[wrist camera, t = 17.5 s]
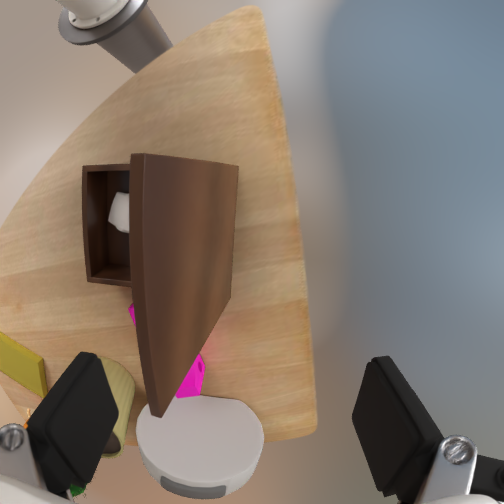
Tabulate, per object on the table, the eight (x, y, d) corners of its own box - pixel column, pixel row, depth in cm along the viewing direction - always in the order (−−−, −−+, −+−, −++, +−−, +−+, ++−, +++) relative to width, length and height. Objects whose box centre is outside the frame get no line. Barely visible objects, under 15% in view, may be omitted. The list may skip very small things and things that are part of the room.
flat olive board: (42, 357, 47) (-23, 314, 44) (37, 363, 45) (-28, 318, 42) (47, 393, 50) (-16, 351, 47) (44, 398, 48) (-20, 355, 45)
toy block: (138, 297, 43) (120, 318, 36) (173, 288, 43) (160, 309, 35) (172, 372, 46) (162, 400, 39) (205, 366, 46) (199, 395, 39)
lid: (150, 415, 16) (161, 419, 16) (130, 153, 12) (145, 153, 12) (224, 296, 35) (230, 297, 35) (231, 165, 31) (238, 166, 31)
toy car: (121, 186, 38) (111, 188, 34) (196, 217, 39) (191, 222, 36) (110, 222, 39) (100, 226, 36) (182, 253, 40) (177, 260, 37)
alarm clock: (151, 409, 50) (127, 488, 31) (149, 385, 47) (119, 470, 29) (256, 424, 51) (259, 508, 32) (262, 402, 49) (267, 493, 30)
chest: (107, 266, 42) (87, 282, 35) (105, 165, 37) (82, 165, 31) (230, 276, 42) (227, 296, 36) (237, 167, 38) (235, 165, 32)
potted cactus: (84, 396, 49) (28, 497, 20) (70, 339, 45) (-17, 445, 16) (149, 413, 50) (110, 534, 21) (141, 356, 46) (75, 497, 17)
